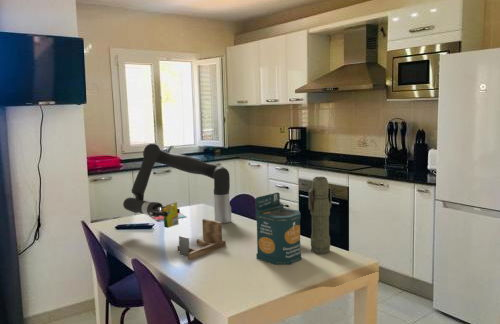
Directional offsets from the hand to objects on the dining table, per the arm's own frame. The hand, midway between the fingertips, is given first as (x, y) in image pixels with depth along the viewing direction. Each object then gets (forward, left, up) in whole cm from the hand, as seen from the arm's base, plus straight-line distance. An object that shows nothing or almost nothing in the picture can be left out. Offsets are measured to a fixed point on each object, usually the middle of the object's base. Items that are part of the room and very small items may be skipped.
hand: (173, 212), depth 215 cm
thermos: (-52, +51, -17) cm, 75 cm away
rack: (-6, +16, -16) cm, 24 cm away
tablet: (-18, -60, -17) cm, 65 cm away
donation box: (-32, +48, -17) cm, 60 cm away
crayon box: (+1, -2, -7) cm, 8 cm away
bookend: (+2, +19, -16) cm, 25 cm away
